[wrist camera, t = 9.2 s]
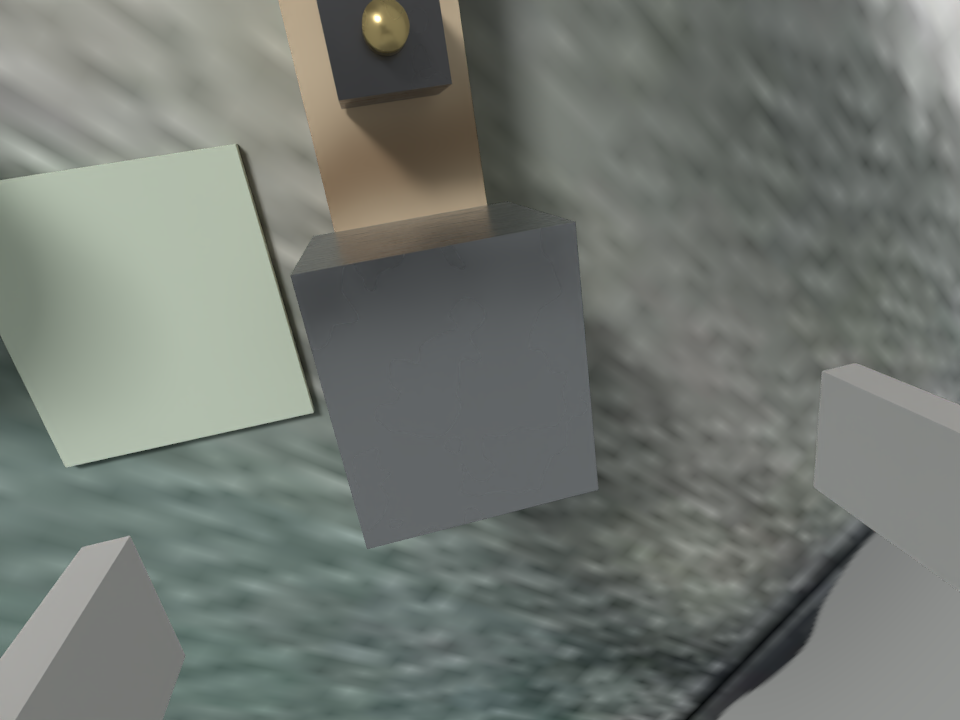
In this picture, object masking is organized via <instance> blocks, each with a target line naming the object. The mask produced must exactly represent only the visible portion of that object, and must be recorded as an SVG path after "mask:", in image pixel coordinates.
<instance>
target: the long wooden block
mask: <svg viewBox="0 0 960 720" xmlns="http://www.w3.org/2000/svg"><path fill="white" fill-rule="evenodd" d="M278 1H279V5H280V9H281V13H282V17H283V21H284V25H285V29H286V33H287V37H288V42H289V46H290V50H291V54H292V58H293V62H294V66H295V70H296V74H297V79H298V83H299V87H300V91H301V95H302V99H303V103H304V107H305V111H306V116H307V120H308V124H309V128H310V132H311V136H312V140H313V144H314V148H315V152H316V157H317V161H318V165H319V169H320V173H321V177H322V181H323V185H324V189H325V194H326V198H327V202H328V206H329V210H330V214H331V218H332V222H333V226H334V231H335V232H339V231H345V230H350V229H356V228H362V227H367V226H373V225H378V224H384V223H389V222H395V221H401V220H406V219H412V218H417V217H423V216H429V215H434V214H440V213H445V212H451V211H456V210H462V209H468V208H473V207H479V206H484V205H487V201H486V194H485V187H484V180H483V173H482V166H481V159H480V152H479V144H478V137H477V130H476V123H475V116H474V109H473V102H472V95H471V88H470V81H469V74H468V67H467V60H466V53H465V46H464V39H463V32H462V25H461V18H460V10H459V3H458V0H439V1H440V8H441V14H442V21H443V27H444V34H445V40H446V47H447V54H448V60H449V67H450V73H451V80H452V84H451V85H450V86H449V87H447V88H446V89H445V90H444V91H442V92H441V93H440V94H439V95H433V96H426V97H420V98H413V99H407V100H400V101H393V102H387V103H380V104H373V105H367V106H360V107H353V108H347V109H341V106H340V103H339V101H338V96H337V92H336V87H335V83H334V78H333V74H332V69H331V65H330V60H329V56H328V51H327V47H326V42H325V38H324V33H323V29H322V24H321V20H320V15H319V10H318V6H317V1H316V0H278Z"/></svg>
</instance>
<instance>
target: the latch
mask: <svg viewBox="0 0 960 720" xmlns="http://www.w3.org/2000/svg"><path fill="white" fill-rule="evenodd" d="M316 1H317V6H318V10H319V15H320V20H321V24H322V29H323V33H324V38H325V42H326V47H327V51H328V56H329V60H330V65H331V69H332V74H333V78H334V83H335V87H336V92H337V96H338V101H339V103H340V106H341V109H347V108H353V107H360V106H367V105H373V104H380V103H387V102H393V101H400V100H407V99H413V98H420V97H426V96H433V95H439V94H440V93H441V92H442V91H444V90H445V89H446V88H447V87H449V86H450V85H451V84H452V80H451V73H450V67H449V60H448V54H447V47H446V40H445V34H444V27H443V21H442V14H441V8H440V1H439V0H316Z"/></svg>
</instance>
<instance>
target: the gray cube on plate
mask: <svg viewBox="0 0 960 720" xmlns="http://www.w3.org/2000/svg"><path fill="white" fill-rule="evenodd" d="M291 279H292V283H293V286H294V290H295V293H296V297H297V300H298V304H299V307H300V311H301V315H302V318H303V322H304V325H305V329H306V332H307V336H308V340H309V343H310V347H311V350H312V354H313V357H314V361H315V365H316V368H317V372H318V375H319V379H320V382H321V386H322V390H323V393H324V397H325V400H326V404H327V407H328V411H329V415H330V418H331V422H332V425H333V429H334V432H335V436H336V439H337V443H338V447H339V450H340V454H341V457H342V461H343V464H344V468H345V472H346V475H347V479H348V482H349V486H350V489H351V493H352V497H353V500H354V504H355V507H356V511H357V514H358V518H359V522H360V525H361V529H362V532H363V536H364V539H365V543H366V547H367V549H370V548H373V547H377V546H381V545H385V544H389V543H393V542H397V541H401V540H405V539H409V538H412V537H416V536H420V535H424V534H428V533H432V532H436V531H440V530H444V529H448V528H451V527H455V526H459V525H463V524H467V523H471V522H475V521H479V520H483V519H487V518H490V517H494V516H498V515H502V514H506V513H510V512H514V511H518V510H522V509H526V508H529V507H533V506H537V505H541V504H545V503H549V502H553V501H557V500H561V499H565V498H568V497H572V496H576V495H580V494H584V493H588V492H592V491H596V490H598V478H597V467H596V455H595V443H594V432H593V420H592V409H591V397H590V385H589V374H588V362H587V351H586V339H585V328H584V316H583V304H582V293H581V281H580V270H579V258H578V246H577V235H576V223H575V222H574V221H571V220H568V219H564V218H561V217H557V216H554V215H551V214H547V213H544V212H541V211H537V210H534V209H531V208H527V207H524V206H521V205H517V204H514V203H511V202H501V203H495V204H490V205H484V206H479V207H473V208H468V209H462V210H456V211H451V212H445V213H440V214H434V215H429V216H423V217H417V218H412V219H406V220H401V221H395V222H389V223H384V224H378V225H373V226H367V227H362V228H356V229H350V230H345V231H339V232H334V233H328V234H323V235H317V236H313V238H312V239H311V241H310V243H309V244H308V246H307V248H306V250H305V251H304V253H303V255H302V256H301V258H300V260H299V262H298V263H297V265H296V267H295V268H294V270H293V272H292V274H291Z"/></svg>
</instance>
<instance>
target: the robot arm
mask: <svg viewBox="0 0 960 720" xmlns="http://www.w3.org/2000/svg"><path fill="white" fill-rule="evenodd" d="M814 488H815V489H817V490H818V491H819V492H821V493H822V494H824V495H825V496H826V497H828V498H829V499H831V500H832V501H833V502H835V503H836V504H837V505H839V506H840V507H842V508H843V509H844V510H846V511H847V512H849V513H850V514H851V515H853V516H854V517H856V518H857V519H858V520H860V521H861V522H863V523H864V524H865V525H867V526H868V527H870V528H871V529H872V530H874V531H875V532H877V533H878V534H879V535H881V536H882V537H883V538H885V539H886V540H888V541H889V542H891V543H892V544H893V545H895V546H896V547H898V548H899V549H900V550H902V551H903V552H904V553H906V554H907V555H909V556H910V557H912V558H913V559H914V560H916V561H917V562H919V563H920V564H921V565H923V566H924V567H925V568H927V569H928V570H930V571H931V572H932V573H934V574H935V575H936V576H938V577H939V578H941V579H942V580H943V581H945V582H946V583H948V584H949V585H950V586H952V587H953V588H955V589H956V590H957V591H959V592H960V405H959V404H956V403H954V402H951V401H949V400H947V399H944V398H942V397H939V396H937V395H934V394H932V393H929V392H927V391H924V390H922V389H919V388H917V387H914V386H912V385H909V384H907V383H904V382H902V381H899V380H897V379H895V378H892V377H890V376H887V375H885V374H882V373H880V372H877V371H875V370H872V369H870V368H867V367H865V366H862V365H860V364H857V363H853V364H849V365H845V366H841V367H836V368H832V369H828V370H824V371H822V377H821V391H820V405H819V419H818V432H817V446H816V460H815V474H814ZM184 658H185V654H184V652H183V649H182V647H181V645H180V643H179V641H178V638H177V636H176V634H175V632H174V630H173V628H172V625H171V623H170V621H169V619H168V617H167V615H166V612H165V610H164V608H163V606H162V604H161V602H160V599H159V597H158V595H157V593H156V591H155V589H154V586H153V584H152V582H151V580H150V578H149V576H148V573H147V571H146V569H145V567H144V565H143V563H142V560H141V558H140V556H139V554H138V552H137V550H136V547H135V545H134V543H133V541H132V539H131V537H130V536H127V537H123V538H118V539H114V540H110V541H106V542H102V543H97V544H93V545H89V546H85V547H82V548H81V549H80V550H79V552H78V553H77V555H76V556H75V557H74V559H73V560H72V561H71V563H70V564H69V566H68V567H67V568H66V570H65V571H64V572H63V574H62V575H61V576H60V578H59V579H58V581H57V582H56V583H55V585H54V586H53V587H52V589H51V590H50V592H49V593H48V594H47V596H46V597H45V598H44V600H43V601H42V602H41V604H40V605H39V607H38V608H37V609H36V611H35V612H34V613H33V615H32V616H31V618H30V619H29V620H28V622H27V623H26V624H25V626H24V627H23V628H22V630H21V631H20V633H19V634H18V635H17V637H16V638H15V639H14V641H13V642H12V643H11V645H10V646H9V648H8V649H7V650H6V652H5V653H4V654H3V656H2V657H1V659H0V720H162V719H163V717H164V714H165V711H166V708H167V706H168V703H169V700H170V697H171V694H172V692H173V689H174V686H175V683H176V681H177V678H178V675H179V672H180V669H181V667H182V664H183V661H184Z"/></svg>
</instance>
